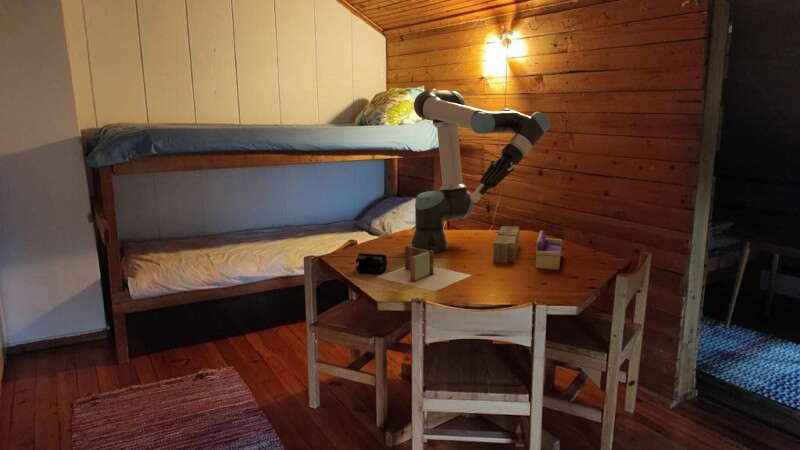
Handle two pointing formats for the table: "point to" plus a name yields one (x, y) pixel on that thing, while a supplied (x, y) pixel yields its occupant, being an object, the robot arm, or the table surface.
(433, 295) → the table surface
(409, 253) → the fence fixed
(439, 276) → the card
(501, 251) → the block tower
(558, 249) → the toy sofa
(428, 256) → the fence gate
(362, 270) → the end cap
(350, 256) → the table surface
